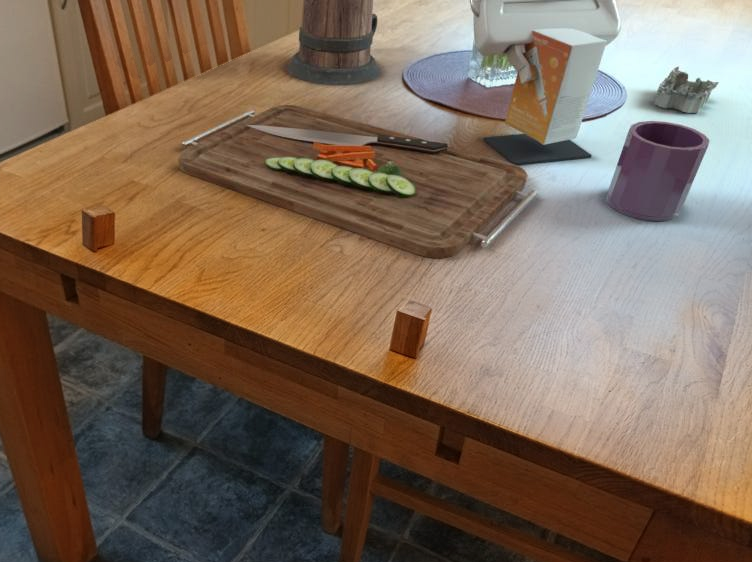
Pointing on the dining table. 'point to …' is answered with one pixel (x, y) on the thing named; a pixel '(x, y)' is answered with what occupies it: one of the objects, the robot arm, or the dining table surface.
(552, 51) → the small box
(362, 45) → the tankard
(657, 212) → the plum cup
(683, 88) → the egg carton
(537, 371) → the dining table surface
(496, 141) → the coaster pad
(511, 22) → the robot arm
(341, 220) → the chopping board
